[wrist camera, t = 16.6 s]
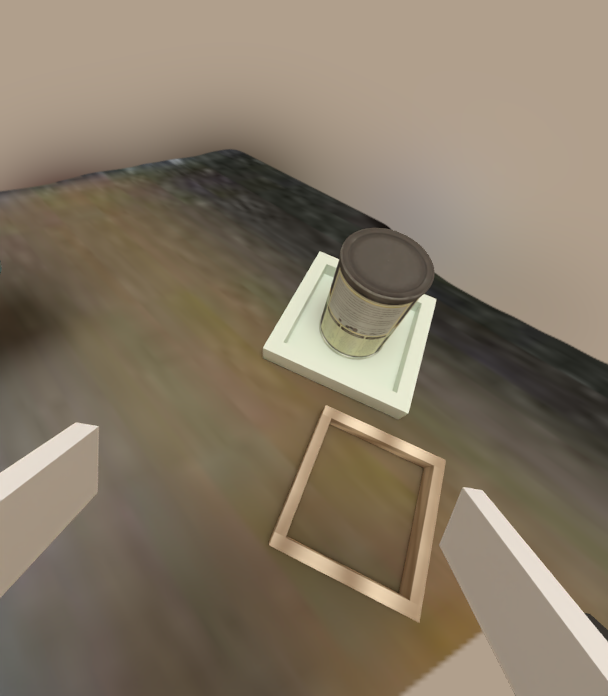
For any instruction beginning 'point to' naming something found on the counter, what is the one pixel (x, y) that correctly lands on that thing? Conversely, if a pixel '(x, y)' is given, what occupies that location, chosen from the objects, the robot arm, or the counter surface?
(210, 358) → the counter surface
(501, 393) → the counter surface
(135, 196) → the counter surface
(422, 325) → the tray
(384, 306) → the coffee can
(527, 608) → the robot arm
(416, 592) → the collar
